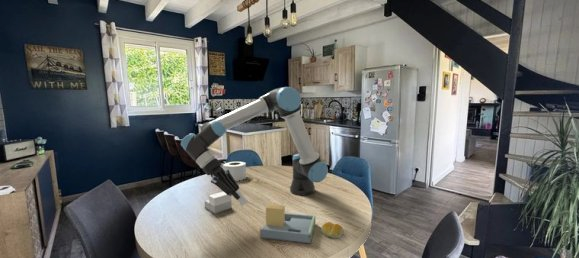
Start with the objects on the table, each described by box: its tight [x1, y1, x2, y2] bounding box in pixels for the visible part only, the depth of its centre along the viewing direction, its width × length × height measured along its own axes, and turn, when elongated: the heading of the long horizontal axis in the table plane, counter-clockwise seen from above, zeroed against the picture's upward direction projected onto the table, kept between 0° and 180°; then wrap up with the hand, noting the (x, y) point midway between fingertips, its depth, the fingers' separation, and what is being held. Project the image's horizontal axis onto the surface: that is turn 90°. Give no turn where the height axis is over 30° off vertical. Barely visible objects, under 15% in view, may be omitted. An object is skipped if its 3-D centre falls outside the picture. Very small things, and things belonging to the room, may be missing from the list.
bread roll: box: [321, 221, 345, 239], centre depth 99 cm, size 8×9×4 cm
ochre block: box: [265, 203, 286, 227], centre depth 103 cm, size 7×4×8 cm, turn 77°
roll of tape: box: [223, 161, 247, 182], centre depth 175 cm, size 16×15×11 cm
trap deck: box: [259, 212, 316, 245], centre depth 102 cm, size 20×16×4 cm
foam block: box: [204, 191, 233, 215], centre depth 125 cm, size 10×10×8 cm
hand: (245, 203), depth 105 cm, fingers closed
